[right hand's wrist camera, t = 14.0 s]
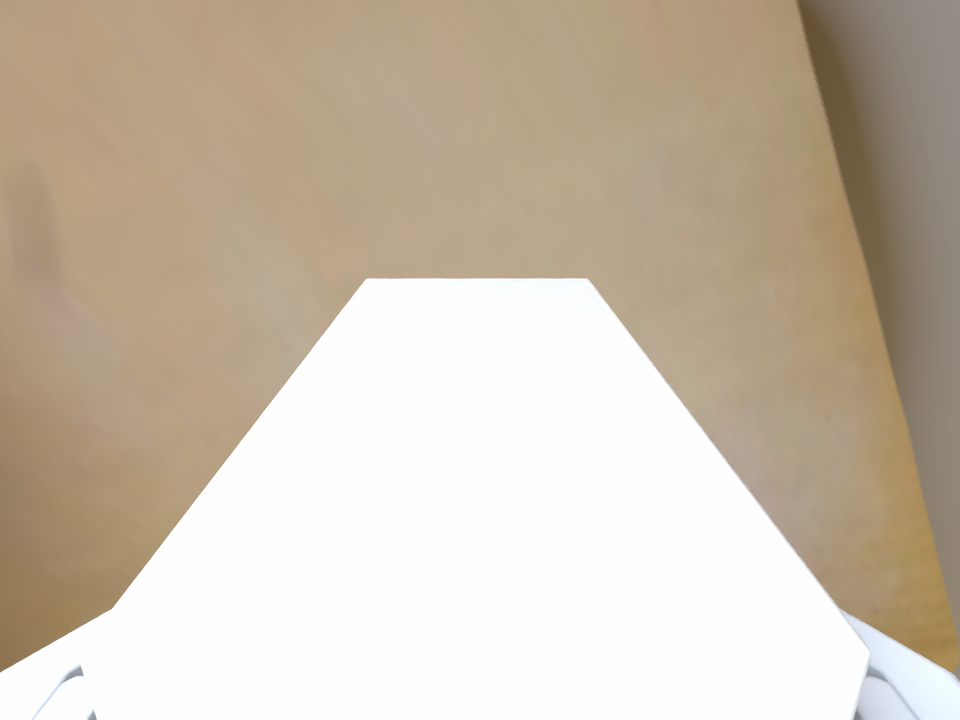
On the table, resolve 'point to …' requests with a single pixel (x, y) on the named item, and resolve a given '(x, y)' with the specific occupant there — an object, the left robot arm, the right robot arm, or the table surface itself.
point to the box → (476, 540)
